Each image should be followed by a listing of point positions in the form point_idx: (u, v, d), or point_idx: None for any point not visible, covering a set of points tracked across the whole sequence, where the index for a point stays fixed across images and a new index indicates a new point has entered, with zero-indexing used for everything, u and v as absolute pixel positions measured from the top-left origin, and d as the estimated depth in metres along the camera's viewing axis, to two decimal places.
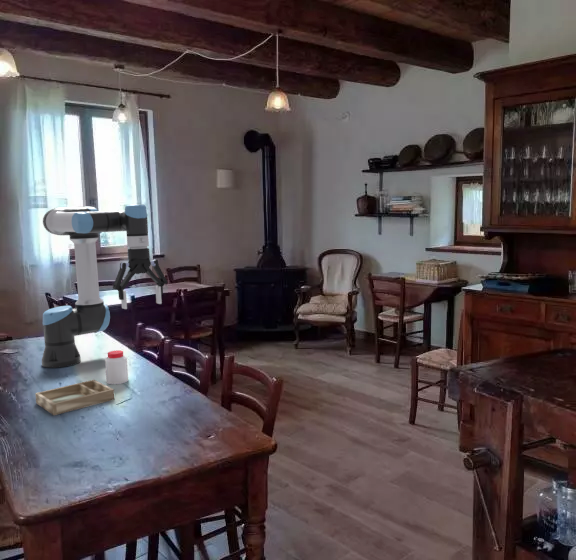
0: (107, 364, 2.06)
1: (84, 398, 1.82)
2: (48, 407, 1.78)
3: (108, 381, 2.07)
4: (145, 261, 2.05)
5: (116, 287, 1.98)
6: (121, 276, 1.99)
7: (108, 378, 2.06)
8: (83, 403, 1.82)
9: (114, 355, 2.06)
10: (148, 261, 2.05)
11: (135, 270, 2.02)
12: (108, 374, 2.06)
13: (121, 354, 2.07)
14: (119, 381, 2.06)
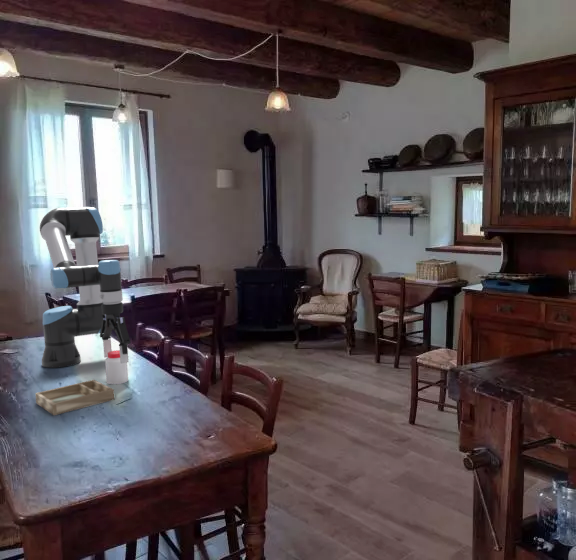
0: (107, 364, 2.06)
1: (84, 398, 1.82)
2: (48, 407, 1.78)
3: (108, 381, 2.07)
4: (112, 317, 2.04)
5: (100, 335, 2.14)
6: (101, 326, 2.12)
7: (108, 378, 2.06)
8: (83, 403, 1.82)
9: (114, 355, 2.06)
10: (113, 317, 2.04)
11: (106, 323, 2.08)
12: (108, 374, 2.06)
13: None
14: (119, 381, 2.06)
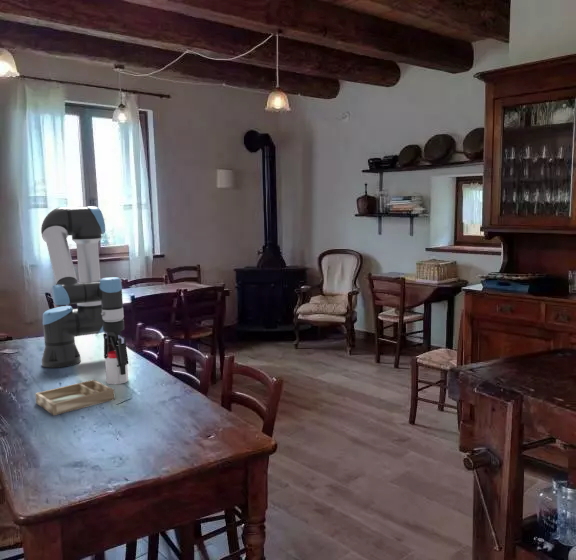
0: (107, 364, 2.06)
1: (84, 398, 1.82)
2: (48, 407, 1.78)
3: (108, 381, 2.07)
4: (113, 333, 2.05)
5: (104, 356, 2.13)
6: (104, 346, 2.12)
7: (108, 378, 2.06)
8: (83, 403, 1.82)
9: (114, 355, 2.06)
10: (115, 335, 2.04)
11: (107, 341, 2.08)
12: (108, 374, 2.06)
13: None
14: None
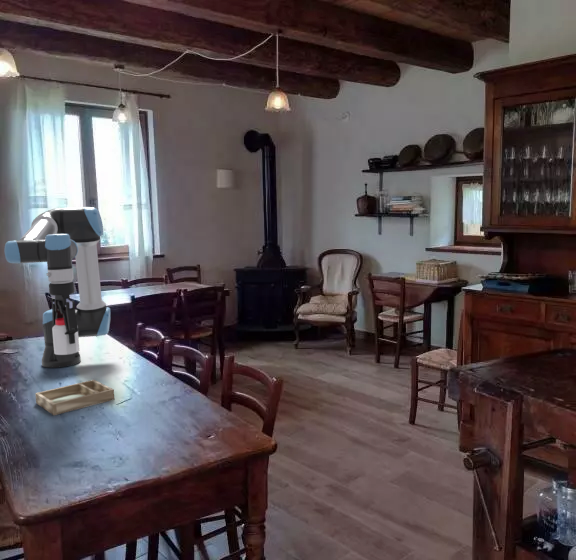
0: (54, 332, 1.81)
1: (84, 398, 1.82)
2: (48, 407, 1.78)
3: (56, 351, 1.82)
4: (61, 297, 1.81)
5: (53, 324, 1.89)
6: (52, 313, 1.88)
7: (55, 348, 1.82)
8: (83, 403, 1.82)
9: (62, 322, 1.81)
10: (62, 299, 1.80)
11: (55, 307, 1.84)
12: (55, 343, 1.82)
13: None
14: None
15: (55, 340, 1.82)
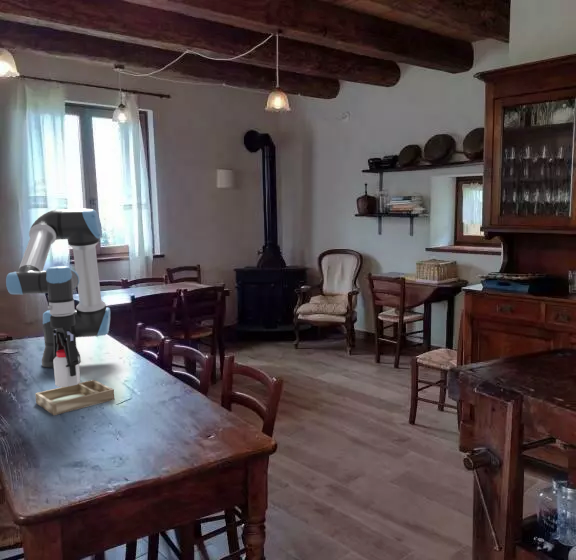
0: (55, 364, 1.82)
1: (84, 398, 1.82)
2: (48, 407, 1.78)
3: (57, 383, 1.83)
4: (62, 330, 1.81)
5: (54, 355, 1.90)
6: (54, 344, 1.88)
7: (56, 380, 1.83)
8: (83, 403, 1.82)
9: (63, 354, 1.82)
10: (63, 331, 1.81)
11: (56, 338, 1.85)
12: (56, 375, 1.82)
13: None
14: None
15: (56, 372, 1.82)
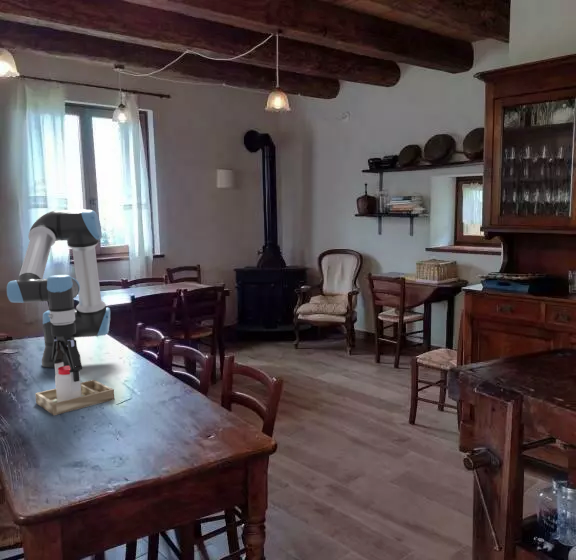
0: (57, 381, 1.83)
1: (84, 398, 1.82)
2: (48, 407, 1.78)
3: (58, 400, 1.84)
4: (62, 339, 1.82)
5: (51, 357, 1.92)
6: (53, 348, 1.90)
7: (58, 397, 1.84)
8: (83, 403, 1.82)
9: (65, 371, 1.83)
10: (64, 340, 1.81)
11: (56, 346, 1.85)
12: (58, 392, 1.83)
13: None
14: None
15: (58, 389, 1.83)
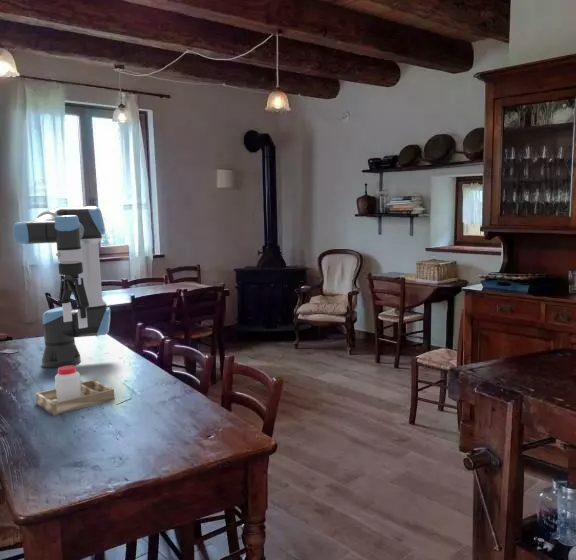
0: (57, 381, 1.83)
1: (84, 398, 1.82)
2: (48, 407, 1.78)
3: (58, 400, 1.84)
4: (70, 278, 1.87)
5: (59, 298, 1.97)
6: (60, 288, 1.95)
7: (58, 397, 1.84)
8: (83, 403, 1.82)
9: (65, 371, 1.83)
10: (71, 278, 1.86)
11: (64, 285, 1.90)
12: (58, 392, 1.83)
13: (73, 370, 1.85)
14: None
15: (58, 389, 1.83)
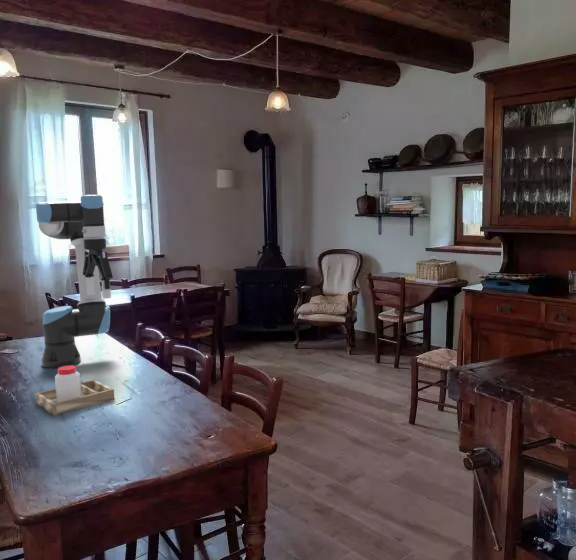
0: (57, 381, 1.83)
1: (84, 398, 1.82)
2: (48, 407, 1.78)
3: (58, 400, 1.84)
4: (94, 252, 2.02)
5: (83, 273, 2.12)
6: (84, 263, 2.10)
7: (58, 397, 1.84)
8: (83, 403, 1.82)
9: (65, 371, 1.83)
10: (96, 253, 2.02)
11: (88, 259, 2.06)
12: (58, 392, 1.83)
13: (73, 370, 1.85)
14: None
15: (58, 389, 1.83)
